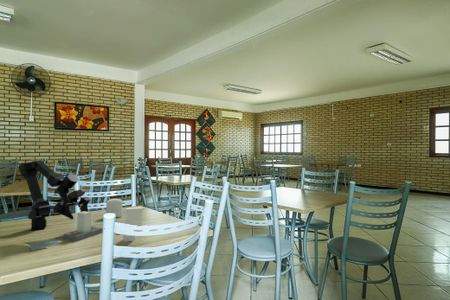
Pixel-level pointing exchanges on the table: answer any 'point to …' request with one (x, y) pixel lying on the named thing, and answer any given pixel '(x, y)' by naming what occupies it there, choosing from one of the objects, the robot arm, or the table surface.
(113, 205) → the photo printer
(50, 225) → the table surface
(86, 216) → the block
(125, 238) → the shot glass
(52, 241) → the mat
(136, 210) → the base with upright slab
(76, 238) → the power strip
